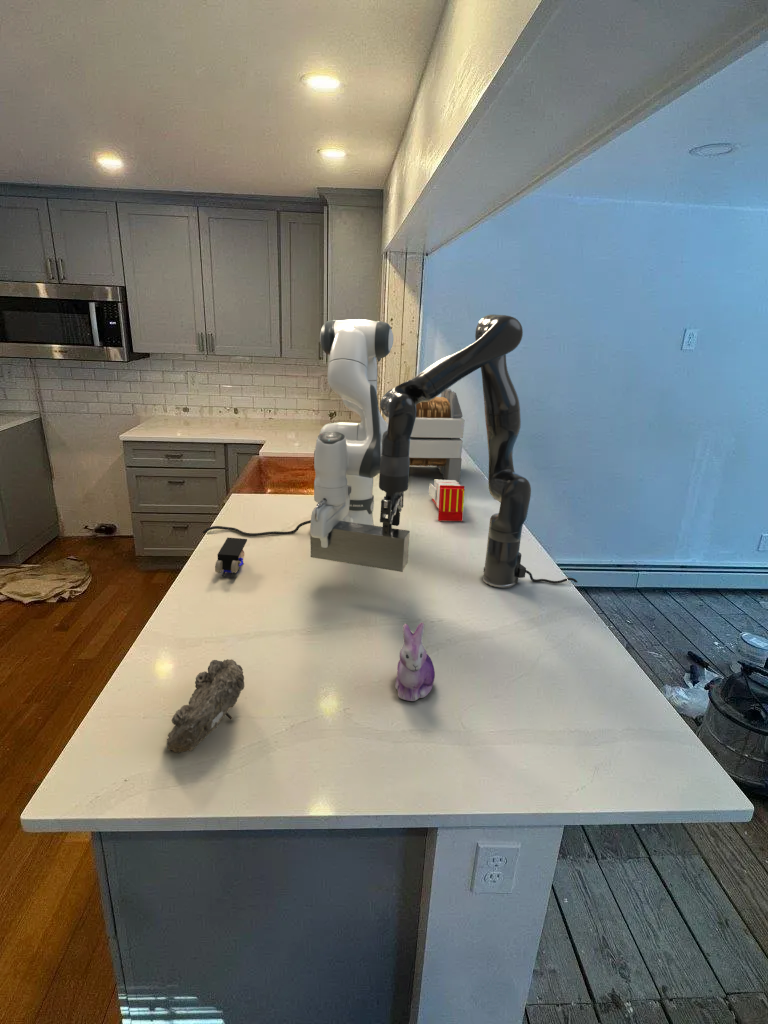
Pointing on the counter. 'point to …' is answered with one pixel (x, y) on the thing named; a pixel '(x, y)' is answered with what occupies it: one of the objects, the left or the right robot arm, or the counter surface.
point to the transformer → (438, 435)
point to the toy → (448, 499)
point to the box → (364, 546)
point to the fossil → (206, 705)
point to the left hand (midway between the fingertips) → (330, 541)
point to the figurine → (414, 666)
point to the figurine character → (230, 556)
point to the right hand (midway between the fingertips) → (391, 530)
